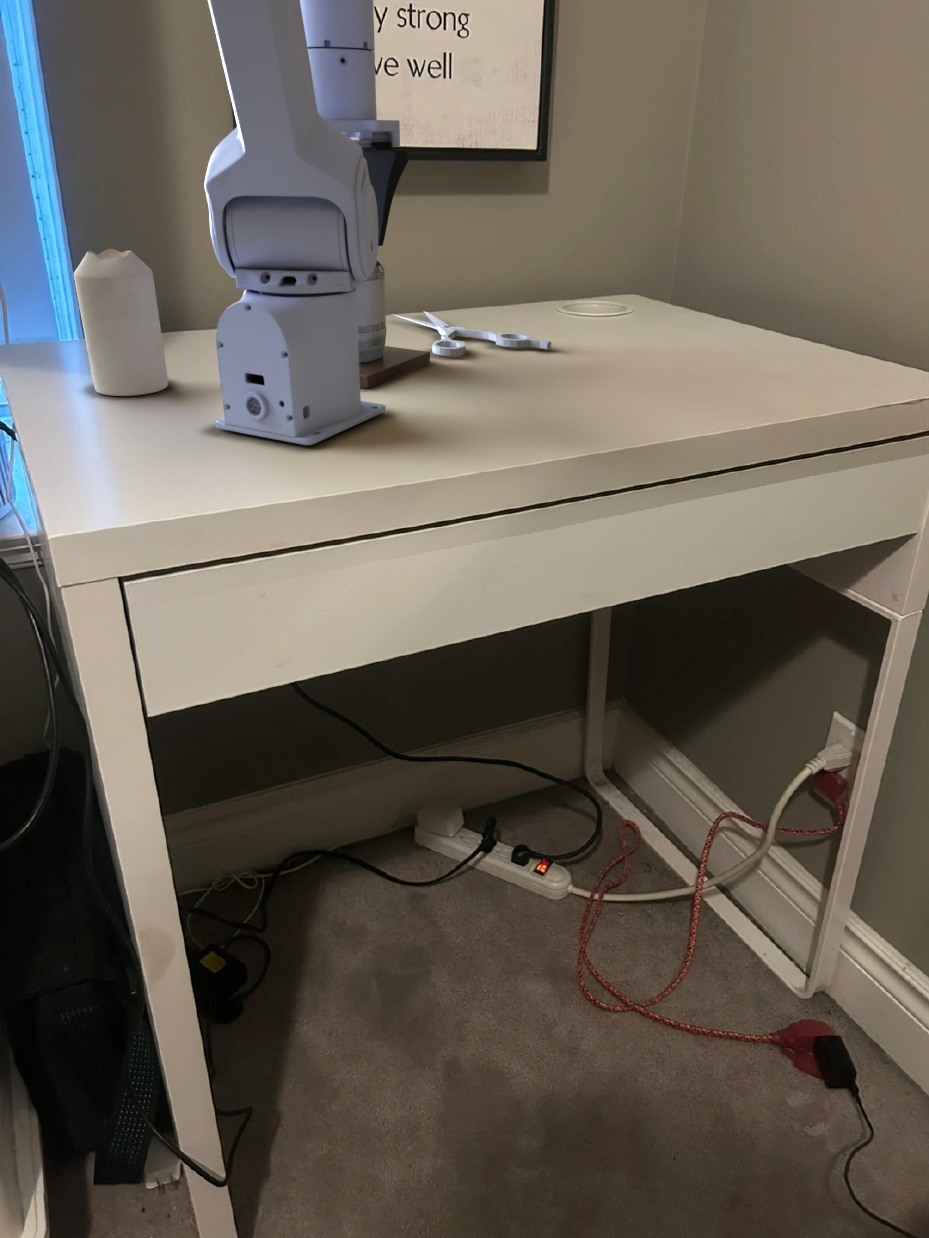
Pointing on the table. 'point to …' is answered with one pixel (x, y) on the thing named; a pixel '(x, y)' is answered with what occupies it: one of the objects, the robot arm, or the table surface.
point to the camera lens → (371, 315)
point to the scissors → (458, 347)
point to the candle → (121, 323)
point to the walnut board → (391, 365)
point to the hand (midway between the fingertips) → (344, 250)
